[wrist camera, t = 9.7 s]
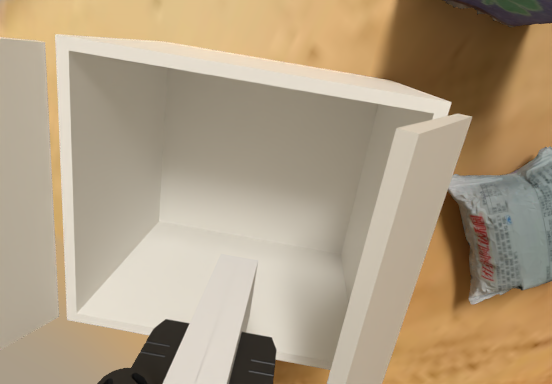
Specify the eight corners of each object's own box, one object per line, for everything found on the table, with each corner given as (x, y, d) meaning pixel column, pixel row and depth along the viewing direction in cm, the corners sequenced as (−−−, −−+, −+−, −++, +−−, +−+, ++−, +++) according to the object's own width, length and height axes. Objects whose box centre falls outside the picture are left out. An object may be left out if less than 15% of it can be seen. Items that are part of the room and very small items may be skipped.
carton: (345, 257, 36) (365, 376, 23) (155, 222, 36) (67, 319, 23) (390, 80, 30) (451, 102, 17) (165, 41, 31) (55, 34, 17)
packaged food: (459, 285, 36) (481, 320, 31) (435, 168, 32) (457, 187, 28) (559, 263, 34) (598, 296, 30) (546, 138, 31) (588, 153, 26)
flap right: (372, 376, 22) (382, 382, 22) (294, 502, 15) (307, 512, 15) (457, 113, 17) (472, 116, 17) (396, 128, 10) (419, 133, 10)
